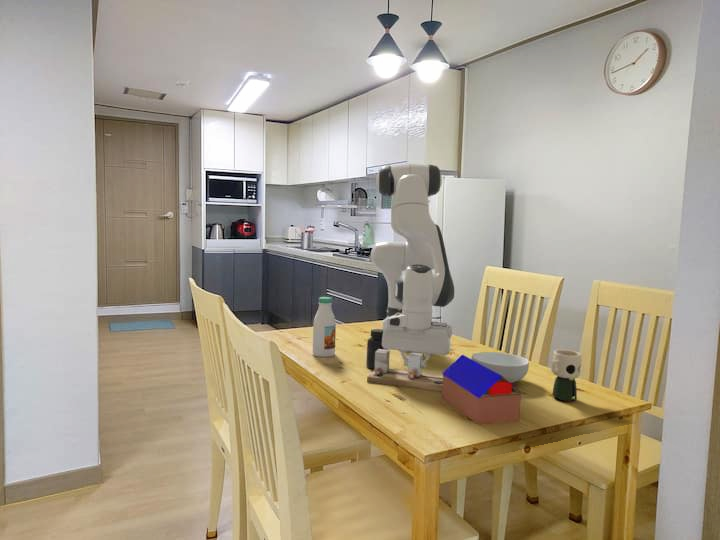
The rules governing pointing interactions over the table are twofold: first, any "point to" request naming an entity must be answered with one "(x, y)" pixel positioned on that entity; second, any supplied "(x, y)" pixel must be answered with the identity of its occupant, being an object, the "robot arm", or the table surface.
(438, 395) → the table surface
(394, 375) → the board
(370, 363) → the supplement bottle
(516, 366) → the cereal bowl
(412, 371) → the block
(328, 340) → the milk bottle
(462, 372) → the house
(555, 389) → the character mug
